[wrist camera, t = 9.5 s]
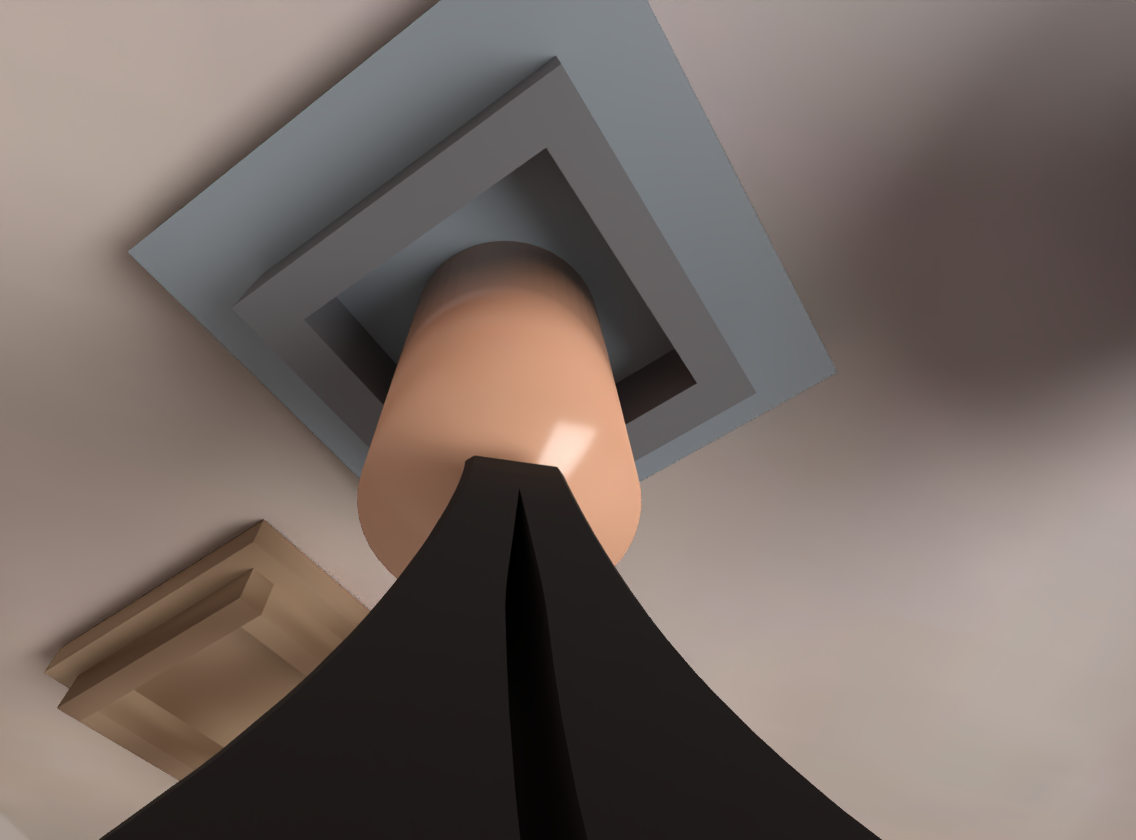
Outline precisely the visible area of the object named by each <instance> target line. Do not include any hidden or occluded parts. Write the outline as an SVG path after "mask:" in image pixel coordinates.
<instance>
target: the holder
mask: <svg viewBox="0 0 1136 840" xmlns="http://www.w3.org/2000/svg"><path fill="white" fill-rule="evenodd" d="M369 612H370V610H368V609H367V608H366V607H365V606H364V605H363V604H361V603H360V602H359V601H358V600H357V599H356V598H355V597H353V596H352V595H351V594H350V593H349V592H348V591H346V590H345V589H344V588H343V587H342V586H341V585H339V584H338V583H337V582H336V581H335V580H334V579H332V578H331V577H330V576H329V575H328V574H327V573H325V572H324V571H323V570H322V569H321V568H320V567H318V566H317V565H316V564H315V563H314V562H313V561H312V560H310V559H309V558H308V557H307V556H306V555H305V554H303V553H302V552H301V551H300V550H299V549H298V548H296V547H295V546H294V545H293V544H292V543H291V542H289V541H288V540H287V539H286V538H285V537H284V536H282V535H281V534H280V533H279V532H278V531H277V530H275V529H274V528H273V527H272V526H271V525H270V524H269V523H267V522H266V521H265V520H263V521H261V522H260V523H258V524H256V525H255V526H253V527H252V528H250V529H249V530H247V531H245V532H244V533H242V534H241V535H239V536H237V537H236V538H234V539H233V540H231V541H230V542H228V543H226V544H225V545H223V546H222V547H220V548H218V549H217V550H215V551H214V552H212V553H211V554H209V555H207V556H206V557H204V558H203V559H201V560H199V561H198V562H196V563H195V564H193V565H192V566H190V567H188V568H187V569H185V570H184V571H182V572H180V573H179V574H177V575H176V576H174V577H173V578H171V579H169V580H168V581H166V582H165V583H163V584H161V585H160V586H158V587H157V588H155V589H153V590H152V591H150V592H149V593H147V594H146V595H144V596H142V597H141V598H139V599H138V600H136V601H134V602H133V603H131V604H130V605H128V606H127V607H125V608H123V609H122V610H120V611H119V612H117V613H115V614H114V615H112V616H111V617H109V618H108V619H106V620H104V621H103V622H101V623H100V624H98V625H96V626H95V627H93V628H92V629H90V630H89V631H87V632H85V633H84V634H82V635H81V636H79V637H77V638H76V639H74V640H73V641H71V642H70V643H68V644H66V645H65V646H63V647H62V648H61V649H60V650H59V652H58V653H57V655H56V656H55V658H54V659H53V660H52V662H51V663H50V665H49V666H48V667H47V669H46V670H45V672H44V673H45V674H47V675H49V676H50V677H52V678H53V679H55V680H57V681H58V682H60V683H62V684H63V685H65V686H66V687H68V688H70V689H69V690H68V692H67V693H66V695H65V696H64V698H63V699H62V701H61V703H60V704H59V706H58V707H57V708H58V709H59V710H61V711H63V712H64V713H66V714H68V715H69V716H71V717H73V718H74V719H76V720H78V721H80V722H81V723H83V724H85V725H86V726H88V727H90V728H91V729H93V730H95V731H96V732H98V733H100V734H101V735H103V736H105V737H107V738H108V739H110V740H112V741H113V742H115V743H117V744H118V745H120V746H122V747H123V748H125V749H127V750H128V751H130V752H132V753H134V754H135V755H137V756H139V757H140V758H142V759H144V760H145V761H147V762H149V763H150V764H152V765H154V766H156V767H157V768H159V769H161V770H162V771H164V772H166V773H167V774H169V775H171V776H172V777H174V778H176V779H177V780H179V781H180V780H182V779H183V778H184V777H186V776H187V775H189V774H190V773H191V772H193V771H194V770H195V769H197V768H198V767H200V766H201V765H202V764H204V763H205V762H206V761H207V760H209V759H210V758H211V757H213V756H214V755H215V754H216V753H218V752H219V751H220V750H222V749H223V748H224V747H225V746H226V745H228V744H229V743H230V742H231V741H232V740H234V739H235V738H236V737H237V736H238V735H240V734H241V733H242V732H243V731H244V730H245V729H247V728H248V727H249V726H250V725H251V724H253V723H254V722H255V721H256V720H257V719H259V718H260V717H261V716H262V715H263V714H265V713H266V712H267V711H268V710H269V709H271V708H272V707H273V706H274V705H275V704H276V703H278V702H279V701H280V700H281V699H282V698H284V697H285V696H286V695H287V694H288V693H289V692H290V691H292V690H293V689H294V688H295V687H296V686H297V685H298V684H299V683H300V682H301V681H303V680H304V679H305V678H306V677H307V676H308V675H309V674H310V673H311V672H312V671H313V670H314V669H315V668H316V667H317V666H318V665H319V664H320V663H321V662H322V661H323V660H324V659H325V658H326V657H327V656H328V655H329V654H330V653H331V652H332V651H333V650H334V649H335V648H336V647H337V646H338V645H339V644H340V643H341V642H342V641H343V640H344V639H345V638H346V637H347V636H348V635H349V634H350V633H351V632H352V631H353V630H354V629H355V628H356V627H357V626H358V625H359V623H360V622H361V621H362V620H363V619H364V618H365V617H366V616H367V615H368V614H369Z"/></svg>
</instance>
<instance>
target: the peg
mask: <svg viewBox="0 0 1136 840" xmlns="http://www.w3.org/2000/svg"><path fill="white" fill-rule="evenodd" d="M474 455H476V456H483V457H490V458H497V459H504V460H512V461H519V462H526V463H533V464H540V465H548V466H555V467H558V468H559V470H560V471H561V472H562V474H563V475H564V477H565V479H566V481H567V483H568V485H569V487H570V489H571V491H572V493H573V495H574V497H575V499H576V501H577V503H578V505H579V507H580V509H581V511H582V512H583V514H584V516H585V518H586V520H587V521H588V523H589V525H590V527H591V528H592V530H593V532H594V534H595V535H596V537H597V539H598V540H599V542H600V544H601V545H602V547H603V549H604V550H605V552H606V553H607V555H608V557H609V558H610V560H611V561H612V563H613V565H614V566H615V565H616V564H617V563H618V562H619V561H620V560H621V558H622V557H623V555H624V554H625V552H626V551H627V549H628V548H629V546H630V544H631V542H632V540H633V538H634V535H635V533H636V530H637V526H638V523H639V519H640V512H641V488H640V484H639V479H638V474H637V470H636V466H635V462H634V458H633V454H632V450H631V446H630V442H629V438H628V434H627V430H626V426H625V422H624V417H623V413H622V409H621V405H620V401H619V397H618V393H617V389H616V385H615V381H614V377H613V373H612V369H611V365H610V361H609V357H608V353H607V349H606V345H605V341H604V337H603V333H602V329H601V324H600V320H599V316H598V312H597V308H596V305H595V302H594V299H593V296H592V294H591V292H590V290H589V288H588V286H587V284H586V283H585V282H584V280H583V279H582V278H581V276H580V275H579V274H578V273H577V272H576V271H575V270H574V268H573V267H572V266H571V265H569V264H568V263H567V262H566V261H564V260H563V259H562V258H560V257H559V256H557V255H555V254H554V253H552V252H550V251H548V250H546V249H543V248H541V247H538V246H535V245H532V244H528V243H523V242H516V241H495V242H487V243H483V244H479V245H475V246H473V247H470V248H467V249H465V250H463V251H461V252H459V253H457V254H456V255H454V256H452V257H451V258H450V259H448V260H447V261H446V262H444V263H443V264H442V265H441V266H440V267H439V268H438V269H437V270H436V271H435V272H434V273H433V275H432V276H431V277H430V279H429V280H428V282H427V283H426V285H425V287H424V289H423V290H422V293H421V296H420V298H419V301H418V304H417V307H416V310H415V313H414V316H413V319H412V322H411V325H410V328H409V331H408V334H407V337H406V340H405V343H404V346H403V349H402V352H401V355H400V358H399V361H398V364H397V367H396V370H395V373H394V376H393V379H392V382H391V385H390V388H389V391H388V394H387V397H386V400H385V403H384V406H383V409H382V412H381V415H380V418H379V421H378V424H377V427H376V431H375V434H374V437H373V440H372V443H371V446H370V449H369V452H368V455H367V458H366V461H365V464H364V467H363V470H362V473H361V477H360V482H359V486H358V500H357V505H358V513H359V520H360V523H361V527H362V530H363V533H364V535H365V537H366V540H367V542H368V544H369V546H370V548H371V549H372V551H373V552H374V554H375V555H376V557H377V558H378V560H379V561H380V562H381V563H382V564H383V565H384V566H385V567H386V569H387V570H388V571H389V572H390V573H391V574H393V575H394V576H395V577H396V578H397V579H398V577H399V576H400V575H401V573H402V572H403V571H404V569H405V568H406V567H407V565H408V564H409V563H410V561H411V560H412V559H413V557H414V556H415V555H416V553H417V552H418V551H419V549H420V548H421V547H422V545H423V544H424V542H425V541H426V539H427V538H428V536H429V534H430V533H431V531H432V530H433V528H434V526H435V525H436V523H437V522H438V520H439V518H440V517H441V515H442V514H443V512H444V510H445V509H446V507H447V505H448V503H449V501H450V499H451V497H452V496H453V494H454V492H455V490H456V488H457V485H458V483H459V481H460V478H461V475H462V473H463V470H464V465H465V461H466V460H467V459H469V458H471V457H472V456H474Z"/></svg>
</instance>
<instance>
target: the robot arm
mask: <svg viewBox="0 0 1136 840" xmlns="http://www.w3.org/2000/svg"><path fill="white" fill-rule="evenodd" d="M99 840H882V839H880V838H879V837H878V836H876V835H875V834H874V833H872V832H871V831H870V830H868V829H867V828H866V827H864V826H863V825H862V824H860V823H859V822H858V821H857V820H855V819H854V818H853V817H851V816H850V815H849V814H847V813H846V812H845V811H843V810H842V809H841V808H840V807H839V806H837V805H836V804H835V803H834V802H832V801H831V800H830V799H829V798H828V797H827V796H825V795H824V794H823V793H822V792H821V791H820V790H818V789H817V788H816V787H815V786H814V785H813V784H811V783H810V782H809V781H808V780H807V779H806V778H804V777H803V776H802V775H801V774H800V773H799V772H797V771H796V770H795V769H794V768H793V767H792V766H790V765H789V764H788V763H787V762H786V761H785V760H784V759H782V758H781V757H780V756H779V755H778V754H777V753H776V752H775V751H774V750H773V749H772V748H770V747H769V746H768V745H767V744H766V743H765V742H764V741H763V740H762V739H761V738H760V737H758V736H757V735H756V734H755V733H754V732H753V731H752V730H751V729H750V728H749V727H748V726H747V725H746V724H745V723H744V722H743V721H742V720H741V719H740V718H739V717H738V716H737V715H736V714H735V713H734V712H733V711H732V710H731V709H730V708H729V707H728V706H727V705H726V704H725V703H724V702H723V701H722V700H721V699H720V698H719V697H718V696H717V695H716V694H715V693H714V692H713V691H712V690H711V689H710V688H709V687H708V686H707V684H706V683H705V682H704V681H703V680H702V679H701V678H700V677H699V676H698V675H697V674H696V673H695V672H694V670H693V669H692V668H691V667H690V666H689V665H688V663H687V662H686V661H685V660H684V659H683V658H682V656H681V655H680V654H679V653H678V652H677V651H676V649H675V648H674V647H673V646H672V645H671V644H670V642H669V641H668V640H667V639H666V638H665V636H664V635H663V634H662V633H661V631H660V630H659V629H658V627H657V626H656V625H655V623H654V622H653V621H652V619H651V618H650V617H649V616H648V614H647V613H646V611H645V610H644V609H643V607H642V606H641V604H640V603H639V602H638V600H637V599H636V597H635V596H634V595H633V593H632V592H631V590H630V589H629V587H628V586H627V584H626V583H625V581H624V580H623V578H622V577H621V575H620V574H619V573H618V571H617V569H616V568H615V566H614V565H613V563H612V561H611V560H610V558H609V557H608V555H607V553H606V552H605V550H604V549H603V547H602V545H601V544H600V542H599V540H598V539H597V537H596V535H595V534H594V532H593V530H592V528H591V527H590V525H589V523H588V521H587V520H586V518H585V516H584V514H583V512H582V511H581V509H580V507H579V505H578V503H577V501H576V499H575V497H574V495H573V493H572V491H571V489H570V487H569V485H568V483H567V481H566V479H565V477H564V475H563V474H562V472H561V471H560V470H559V468H558V467H555V466H548V465H540V464H533V463H526V462H519V461H512V460H504V459H497V458H490V457H483V456H476V455H474V456H472V457H471V458H469V459H467V460H466V461H465V465H464V470H463V473H462V475H461V478H460V481H459V483H458V485H457V488H456V490H455V492H454V494H453V496H452V497H451V499H450V501H449V503H448V505H447V507H446V509H445V510H444V512H443V514H442V515H441V517H440V518H439V520H438V522H437V523H436V525H435V526H434V528H433V530H432V531H431V533H430V534H429V536H428V538H427V539H426V541H425V542H424V544H423V545H422V547H421V548H420V549H419V551H418V552H417V553H416V555H415V556H414V557H413V559H412V560H411V561H410V563H409V564H408V565H407V567H406V568H405V569H404V571H403V572H402V573H401V575H400V576H399V577H398V579H397V580H396V582H395V583H394V584H393V585H392V587H391V588H390V589H389V590H388V591H387V593H386V594H385V595H384V596H383V597H382V599H381V600H380V601H379V602H378V603H377V604H376V606H375V607H374V608H373V609H372V610H371V611H370V612H369V614H368V615H367V616H366V617H365V618H364V619H363V620H362V621H361V622H360V623H359V625H358V626H357V627H356V628H355V629H354V630H353V631H352V632H351V633H350V634H349V635H348V636H347V637H346V638H345V639H344V640H343V641H342V642H341V643H340V644H339V645H338V646H337V647H336V648H335V649H334V650H333V651H332V652H331V653H330V654H329V655H328V656H327V657H326V658H325V659H324V660H323V661H322V662H321V663H320V664H319V665H318V666H317V667H316V668H315V669H314V670H313V671H312V672H311V673H310V674H309V675H308V676H307V677H306V678H305V679H304V680H303V681H301V682H300V683H299V684H298V685H297V686H296V687H295V688H294V689H293V690H292V691H290V692H289V693H288V694H287V695H286V696H285V697H284V698H282V699H281V700H280V701H279V702H278V703H276V704H275V705H274V706H273V707H272V708H271V709H269V710H268V711H267V712H266V713H265V714H263V715H262V716H261V717H260V718H259V719H257V720H256V721H255V722H254V723H253V724H251V725H250V726H249V727H248V728H247V729H245V730H244V731H243V732H242V733H241V734H240V735H238V736H237V737H236V738H235V739H234V740H232V741H231V742H230V743H229V744H228V745H226V746H225V747H224V748H223V749H222V750H220V751H219V752H218V753H216V754H215V755H214V756H213V757H211V758H210V759H209V760H207V761H206V762H205V763H204V764H202V765H201V766H200V767H198V768H197V769H195V770H194V771H193V772H191V773H190V774H189V775H187V776H186V777H184V778H183V779H182V780H180V781H179V782H178V783H176V784H175V785H173V786H172V787H171V788H169V789H168V790H167V791H165V792H164V793H162V794H161V795H160V796H158V797H157V798H156V799H154V800H153V801H151V802H150V803H149V804H147V805H146V806H145V807H143V808H142V809H140V810H139V811H138V812H136V813H135V814H134V815H132V816H131V817H129V818H128V819H127V820H125V821H124V822H122V823H121V824H120V825H118V826H117V827H116V828H114V829H113V830H111V831H110V832H108V833H107V834H106V835H104V836H103V837H102V838H100V839H99Z"/></svg>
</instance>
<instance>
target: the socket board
mask: <svg viewBox="0 0 1136 840" xmlns="http://www.w3.org/2000/svg"><path fill="white" fill-rule="evenodd" d="M495 241H516V242H523V243H528V244H532V245H535V246H538V247H541V248H543V249H546V250H548V251H550V252H552V253H554V254H555V255H557V256H559V257H560V258H562V259H563V260H564V261H566V262H567V263H568V264H569V265H571V266H572V267H573V268H574V270H575V271H576V272H577V273H578V274H579V275H580V276H581V278H582V279H583V280H584V282H585V283H586V284H587V286H588V288H589V290H590V292H591V294H592V296H593V299H594V302H595V305H596V308H597V312H598V316H599V320H600V324H601V329H602V333H603V337H604V341H605V345H606V349H607V353H608V357H609V361H610V365H611V369H612V373H613V377H614V381H615V385H616V389H617V393H618V397H619V401H620V405H621V409H622V413H623V417H624V422H625V426H626V430H627V434H628V438H629V442H630V446H631V450H632V454H633V458H634V462H635V466H636V470H637V474H638V479H639V482H640V481H642V480H644V479H646V478H648V477H649V476H651V475H653V474H655V473H657V472H658V471H660V470H662V469H664V468H666V467H667V466H669V465H671V464H673V463H675V462H676V461H678V460H680V459H682V458H684V457H686V456H687V455H689V454H691V453H693V452H695V451H696V450H698V449H700V448H702V447H704V446H705V445H707V444H709V443H711V442H713V441H714V440H716V439H718V438H720V437H722V436H723V435H725V434H727V433H729V432H731V431H732V430H734V429H736V428H738V427H740V426H742V425H743V424H745V423H747V422H749V421H751V420H752V419H754V418H756V417H758V416H760V415H761V414H763V413H765V412H767V411H769V410H770V409H772V408H774V407H776V406H778V405H779V404H781V403H783V402H785V401H787V400H788V399H790V398H792V397H794V396H796V395H798V394H799V393H801V392H803V391H805V390H807V389H808V388H810V387H812V386H814V385H816V384H817V383H819V382H821V381H823V380H825V379H826V378H828V377H830V376H832V375H834V374H835V373H837V370H836V368H835V366H834V364H833V362H832V361H831V359H830V357H829V355H828V353H827V351H826V349H825V347H824V345H823V343H822V341H821V339H820V337H819V335H818V333H817V331H816V329H815V327H814V325H813V323H812V321H811V319H810V318H809V316H808V314H807V312H806V310H805V308H804V306H803V304H802V302H801V300H800V298H799V296H798V294H797V292H796V290H795V288H794V286H793V284H792V282H791V280H790V278H789V276H788V274H787V273H786V271H785V269H784V267H783V265H782V263H781V261H780V259H779V257H778V255H777V253H776V251H775V249H774V247H773V245H772V243H771V241H770V239H769V237H768V235H767V233H766V231H765V230H764V228H763V226H762V224H761V222H760V220H759V218H758V216H757V214H756V212H755V210H754V208H753V206H752V204H751V202H750V200H749V198H748V196H747V194H746V192H745V190H744V188H743V187H742V185H741V183H740V181H739V179H738V177H737V175H736V173H735V171H734V169H733V167H732V165H731V163H730V161H729V159H728V157H727V155H726V153H725V151H724V149H723V147H722V145H721V144H720V142H719V140H718V138H717V136H716V134H715V132H714V130H713V128H712V126H711V124H710V122H709V120H708V118H707V116H706V114H705V112H704V110H703V108H702V106H701V104H700V102H699V100H698V99H697V97H696V95H695V93H694V91H693V89H692V87H691V85H690V83H689V81H688V79H687V77H686V75H685V73H684V71H683V69H682V67H681V65H680V63H679V61H678V59H677V57H676V56H675V54H674V52H673V50H672V48H671V46H670V44H669V42H668V40H667V38H666V36H665V34H664V32H663V30H662V28H661V26H660V24H659V22H658V20H657V18H656V16H655V14H654V13H653V11H652V9H651V7H650V5H649V3H648V1H647V0H440V1H439V2H438V3H437V4H435V5H434V6H433V7H432V8H430V9H429V10H428V11H427V12H425V13H424V14H423V15H422V16H420V17H419V18H418V19H417V20H415V21H414V22H413V23H412V24H411V25H409V26H408V27H407V28H406V29H404V30H403V31H402V32H401V33H399V34H398V35H397V36H396V37H394V38H393V39H392V40H391V41H389V42H388V43H387V44H386V45H384V46H383V47H382V48H381V49H379V50H378V51H377V52H376V53H374V54H373V55H372V56H371V57H369V58H368V59H367V60H366V61H364V62H363V63H362V64H361V65H360V66H358V67H357V68H356V69H355V70H353V71H352V72H351V73H350V74H348V75H347V76H346V77H345V78H343V79H342V80H341V81H340V82H338V83H337V84H336V85H335V86H333V87H332V88H331V89H330V90H328V91H327V92H326V93H325V94H323V95H322V96H321V97H320V98H318V99H317V100H316V101H315V102H313V103H312V104H311V105H310V106H308V107H307V108H306V109H305V110H304V111H302V112H301V113H300V114H299V115H297V116H296V117H295V118H294V119H292V120H291V121H290V122H289V123H287V124H286V125H285V126H284V127H282V128H281V129H280V130H279V131H277V132H276V133H275V134H274V135H272V136H271V137H270V138H269V139H267V140H266V141H265V142H264V143H262V144H261V145H260V146H259V147H257V148H256V149H255V150H254V151H252V152H251V153H250V154H249V155H248V156H246V157H245V158H244V159H243V160H241V161H240V162H239V163H238V164H236V165H235V166H234V167H233V168H231V169H230V170H229V171H228V172H226V173H225V174H224V175H223V176H221V177H220V178H219V179H218V180H216V181H215V182H214V183H213V184H211V185H210V186H209V187H208V188H206V189H205V190H204V191H203V192H201V193H200V194H199V195H198V196H196V197H195V198H194V199H193V200H192V201H190V202H189V203H188V204H187V205H185V206H184V207H183V208H182V209H180V210H179V211H178V212H177V213H175V214H174V215H173V216H172V217H170V218H169V219H168V220H167V221H165V222H164V223H163V224H162V225H160V226H159V227H158V228H157V229H155V230H154V231H153V232H152V233H150V234H149V235H148V236H147V237H145V238H144V239H143V240H142V241H141V242H139V243H138V244H137V245H136V246H134V247H133V248H132V249H131V250H129V251H128V253H129V254H130V255H131V256H132V257H133V258H134V259H135V260H136V261H137V262H138V263H139V264H140V265H141V266H142V267H143V268H144V269H146V270H147V271H148V272H149V273H150V274H151V275H152V276H153V277H154V278H155V279H156V280H157V281H158V282H159V283H160V284H161V285H162V286H163V287H164V288H165V289H166V290H167V291H168V292H169V293H170V294H171V295H172V296H173V297H174V298H175V299H176V300H177V301H178V302H179V303H180V304H181V305H182V306H183V307H184V308H185V309H186V310H188V311H189V312H190V313H191V314H192V315H193V316H194V317H195V318H196V319H197V320H198V321H199V322H200V323H201V324H202V325H203V326H204V327H205V328H206V329H207V330H208V331H209V332H210V333H211V334H212V335H213V336H214V337H215V338H216V339H217V340H218V341H219V342H220V343H221V344H222V345H223V346H224V347H225V348H226V349H227V350H228V351H229V352H231V353H232V354H233V355H234V356H235V357H236V358H237V359H238V360H239V361H240V362H241V363H242V364H243V365H244V366H245V367H246V368H247V369H248V370H249V371H250V372H251V373H252V374H253V375H254V376H255V377H256V378H257V379H258V380H259V381H260V382H261V383H262V384H263V385H264V386H265V387H266V388H267V389H268V390H269V391H270V392H271V393H273V394H274V395H275V396H276V397H277V398H278V399H279V400H280V401H281V402H282V403H283V404H284V405H285V406H286V407H287V408H288V409H289V410H290V411H291V412H292V413H293V414H294V415H295V416H296V417H297V418H298V419H299V420H300V421H301V422H302V423H303V424H304V425H305V426H306V427H307V428H308V429H309V430H310V431H311V432H312V433H313V434H315V435H316V436H317V437H318V438H319V439H320V440H321V441H322V442H323V443H324V444H325V445H326V446H327V447H328V448H329V449H330V450H331V451H332V452H333V453H334V454H335V455H336V456H337V457H338V458H339V459H340V460H341V461H342V462H343V463H344V464H345V465H346V466H347V467H348V468H349V469H350V470H351V471H352V472H353V473H354V474H355V475H356V476H358V477H359V478H360V477H361V473H362V470H363V467H364V464H365V461H366V458H367V455H368V452H369V449H370V446H371V443H372V440H373V437H374V434H375V431H376V427H377V424H378V421H379V418H380V415H381V412H382V409H383V406H384V403H385V400H386V397H387V394H388V391H389V388H390V385H391V382H392V379H393V376H394V373H395V370H396V367H397V364H398V361H399V358H400V355H401V352H402V349H403V346H404V343H405V340H406V337H407V334H408V331H409V328H410V325H411V322H412V319H413V316H414V313H415V310H416V307H417V304H418V301H419V298H420V296H421V293H422V290H423V289H424V287H425V285H426V283H427V282H428V280H429V279H430V277H431V276H432V275H433V273H434V272H435V271H436V270H437V269H438V268H439V267H440V266H441V265H442V264H443V263H444V262H446V261H447V260H448V259H450V258H451V257H452V256H454V255H456V254H457V253H459V252H461V251H463V250H465V249H467V248H470V247H473V246H475V245H479V244H483V243H487V242H495Z"/></svg>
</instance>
